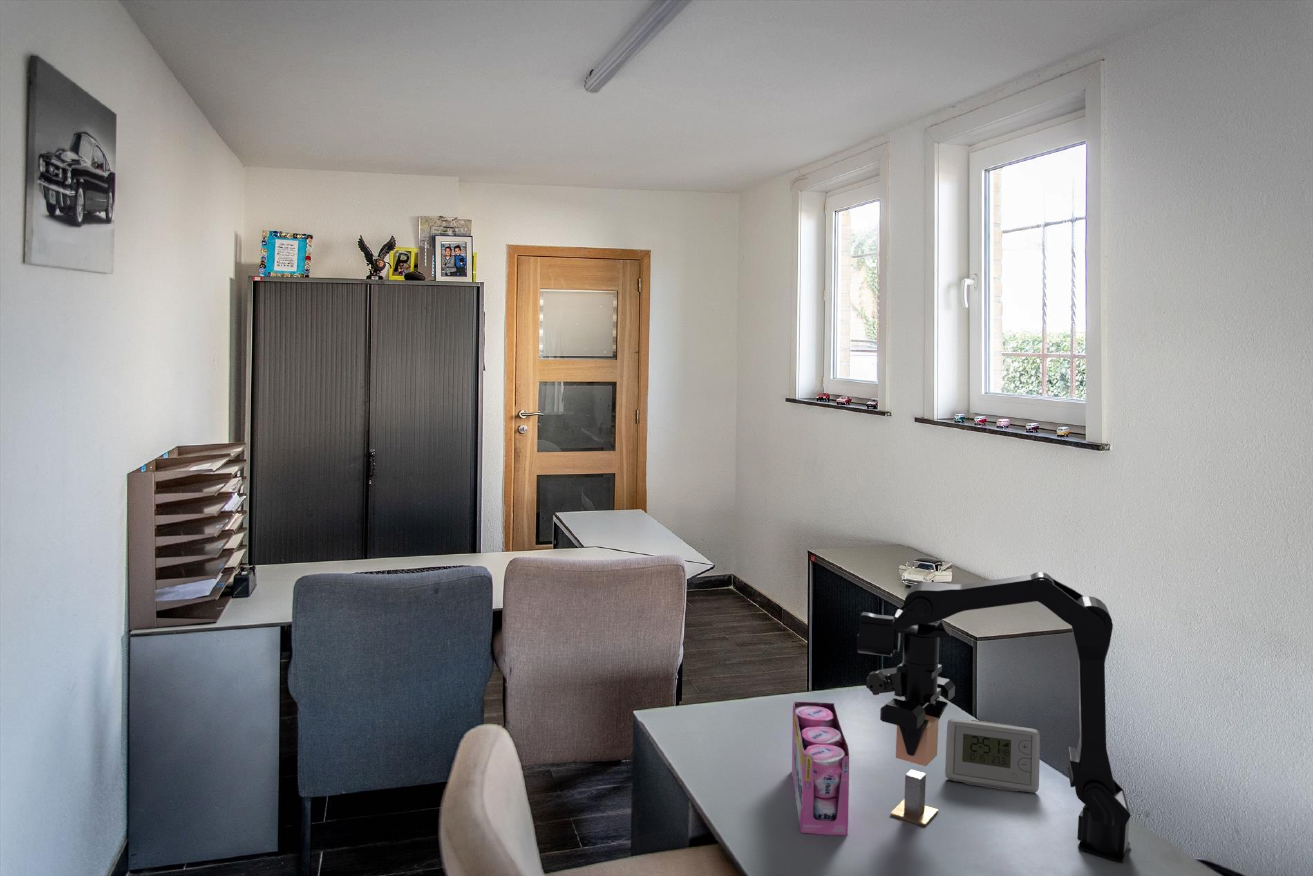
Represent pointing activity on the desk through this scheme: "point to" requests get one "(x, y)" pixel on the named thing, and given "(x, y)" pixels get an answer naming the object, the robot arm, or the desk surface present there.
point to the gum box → (820, 769)
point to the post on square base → (914, 801)
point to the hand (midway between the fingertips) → (916, 749)
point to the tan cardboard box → (920, 744)
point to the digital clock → (993, 755)
